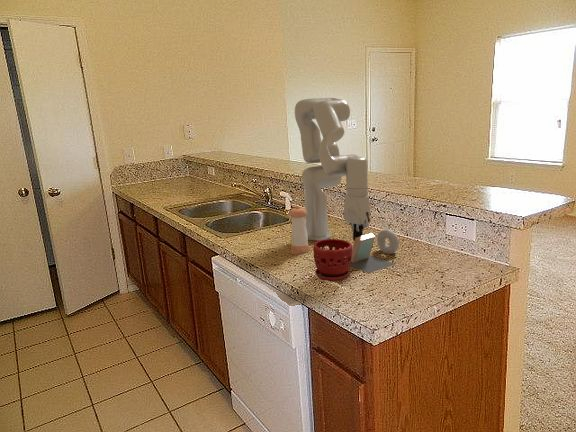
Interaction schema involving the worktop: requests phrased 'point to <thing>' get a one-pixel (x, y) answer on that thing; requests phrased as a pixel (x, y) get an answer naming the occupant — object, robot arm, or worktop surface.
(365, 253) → the tile
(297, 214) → the pepper shaker
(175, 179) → the worktop surface
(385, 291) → the worktop surface
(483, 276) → the worktop surface
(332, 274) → the plant pot
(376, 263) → the mat
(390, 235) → the donut
